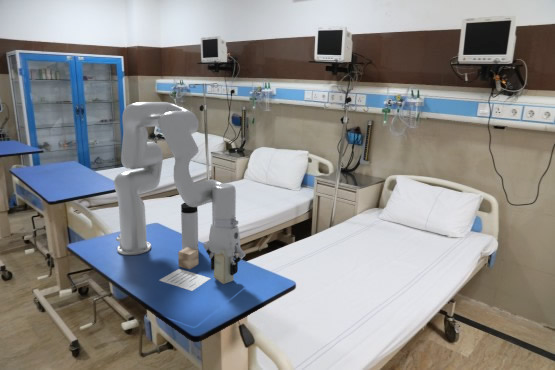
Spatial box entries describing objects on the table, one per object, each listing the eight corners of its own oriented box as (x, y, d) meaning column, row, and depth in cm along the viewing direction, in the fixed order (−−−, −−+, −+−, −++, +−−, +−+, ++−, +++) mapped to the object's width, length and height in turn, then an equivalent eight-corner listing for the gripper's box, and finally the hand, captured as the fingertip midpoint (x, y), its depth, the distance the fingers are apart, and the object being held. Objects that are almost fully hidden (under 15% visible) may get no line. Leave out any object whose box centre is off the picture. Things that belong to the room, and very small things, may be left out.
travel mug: (202, 250, 157) (201, 202, 152) (188, 255, 152) (187, 206, 147) (192, 246, 161) (191, 199, 156) (179, 251, 156) (177, 202, 151)
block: (178, 267, 143) (178, 251, 141) (187, 262, 147) (187, 247, 146) (189, 270, 140) (189, 254, 139) (198, 265, 145) (198, 249, 143)
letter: (158, 281, 132) (158, 280, 132) (179, 269, 141) (178, 268, 141) (192, 291, 126) (192, 290, 126) (210, 279, 134) (210, 278, 134)
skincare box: (213, 277, 135) (213, 244, 132) (224, 274, 138) (224, 241, 135) (223, 285, 131) (223, 250, 128) (234, 281, 134) (235, 247, 131)
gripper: (252, 223, 129) (251, 272, 133) (209, 214, 137) (209, 261, 141) (240, 229, 122) (239, 282, 127) (195, 220, 130) (196, 269, 134)
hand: (224, 270), depth 134 cm, fingers closed on skincare box, 7 cm apart
